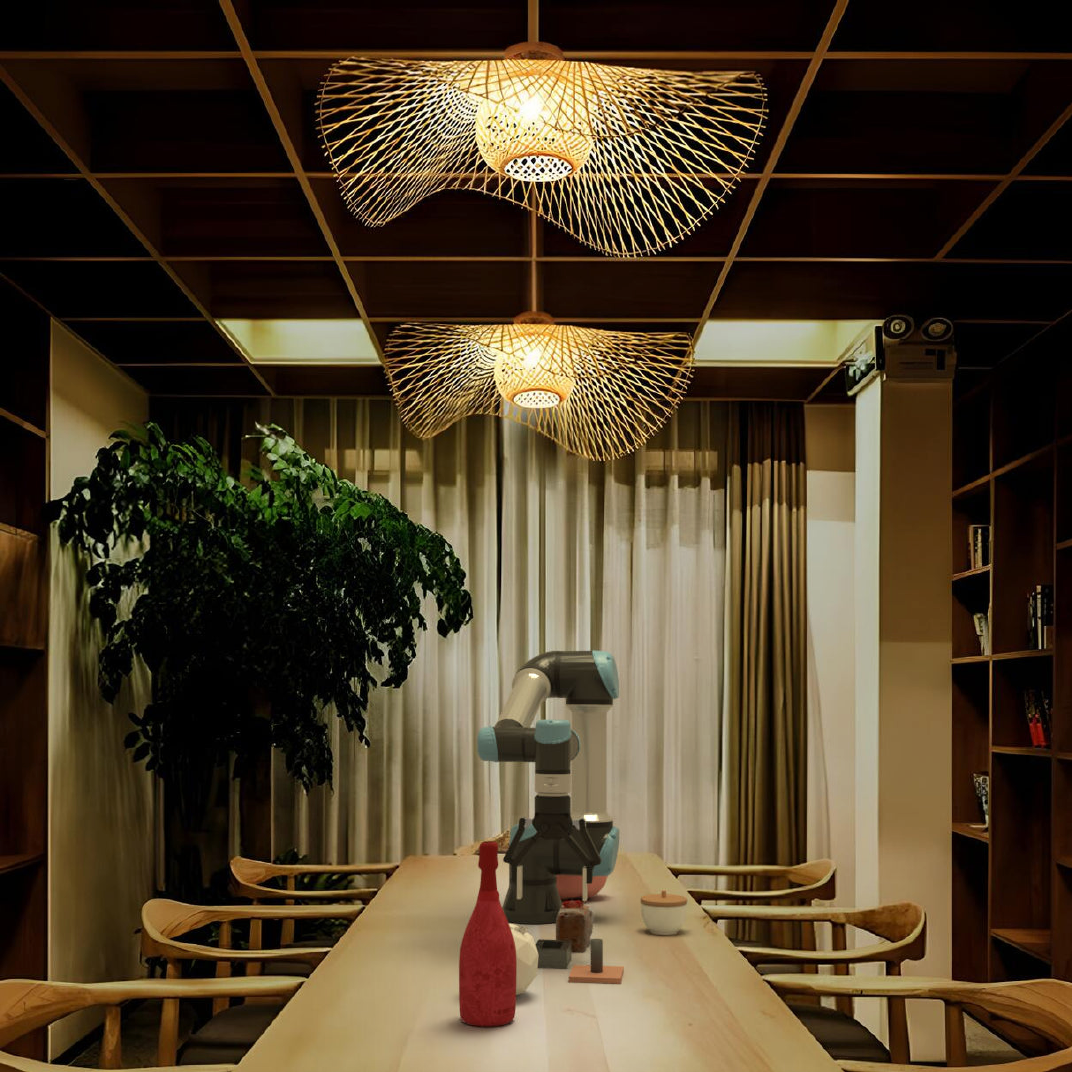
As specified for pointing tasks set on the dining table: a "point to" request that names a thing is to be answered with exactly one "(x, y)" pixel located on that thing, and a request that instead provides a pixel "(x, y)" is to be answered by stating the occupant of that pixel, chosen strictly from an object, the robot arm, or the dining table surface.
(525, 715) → the robot arm
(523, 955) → the geodesic sphere
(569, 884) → the cell model
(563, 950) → the grey hollow block
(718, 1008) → the dining table surface
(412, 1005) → the dining table surface
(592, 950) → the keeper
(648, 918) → the lidded jar
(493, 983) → the wine bottle
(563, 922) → the food item
